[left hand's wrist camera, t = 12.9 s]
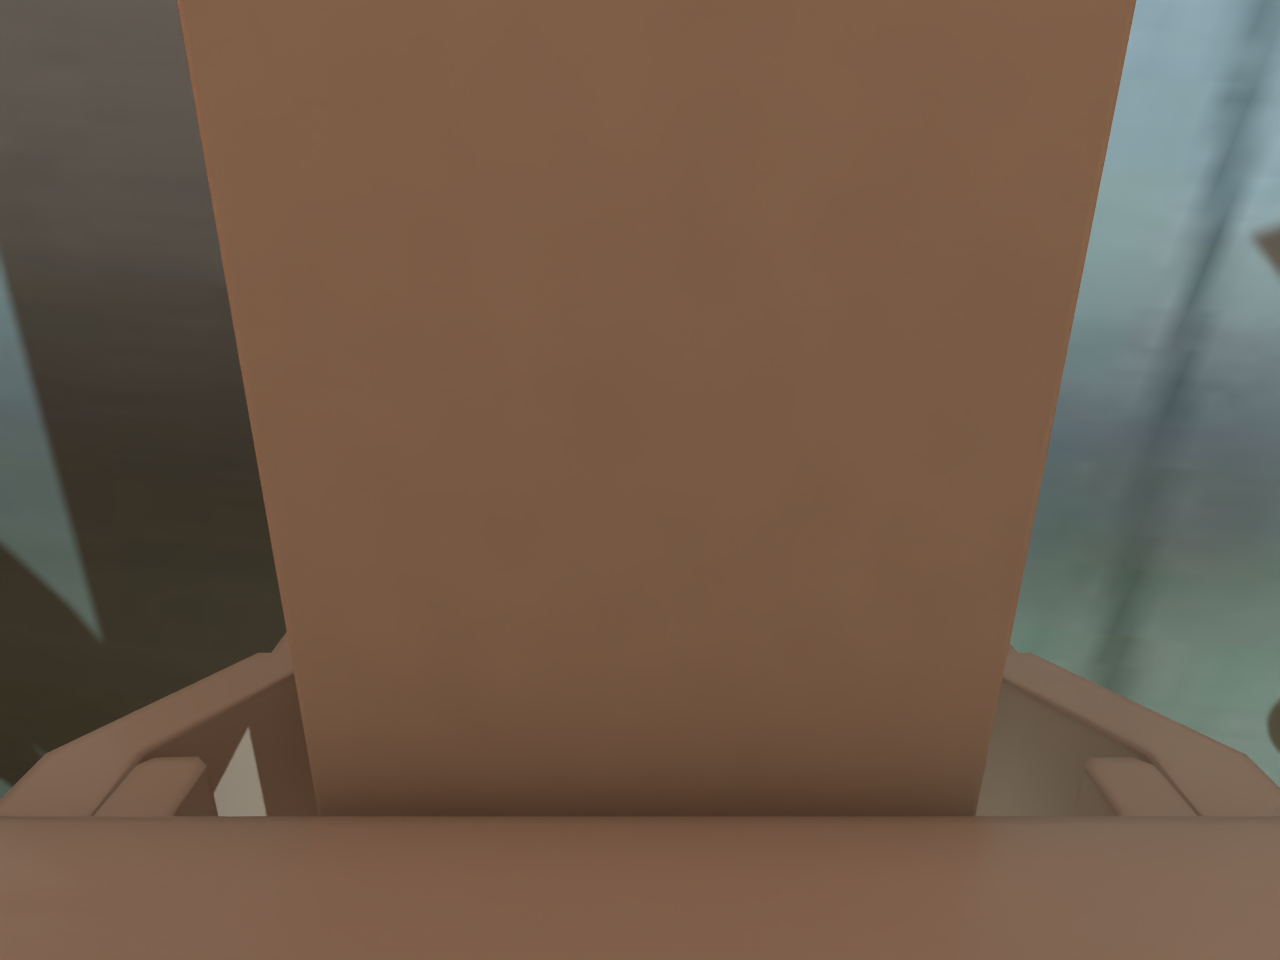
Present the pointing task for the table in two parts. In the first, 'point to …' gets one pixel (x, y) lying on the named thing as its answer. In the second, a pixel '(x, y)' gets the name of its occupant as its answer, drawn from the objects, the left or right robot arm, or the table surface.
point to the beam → (652, 382)
